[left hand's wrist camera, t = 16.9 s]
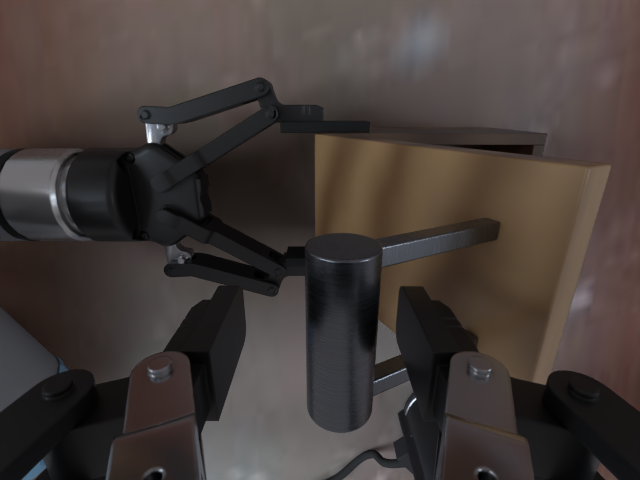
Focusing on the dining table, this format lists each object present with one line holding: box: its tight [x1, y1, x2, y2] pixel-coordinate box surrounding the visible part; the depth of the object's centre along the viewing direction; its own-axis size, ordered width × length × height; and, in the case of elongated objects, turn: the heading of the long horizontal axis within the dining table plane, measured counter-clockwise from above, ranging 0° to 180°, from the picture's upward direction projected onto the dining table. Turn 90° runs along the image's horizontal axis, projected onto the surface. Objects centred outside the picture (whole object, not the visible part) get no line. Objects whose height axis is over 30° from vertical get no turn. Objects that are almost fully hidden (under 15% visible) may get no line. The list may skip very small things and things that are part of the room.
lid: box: [305, 134, 611, 433], centre depth 17 cm, size 17×10×9 cm
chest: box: [322, 128, 547, 156], centre depth 31 cm, size 16×10×9 cm, turn 90°
